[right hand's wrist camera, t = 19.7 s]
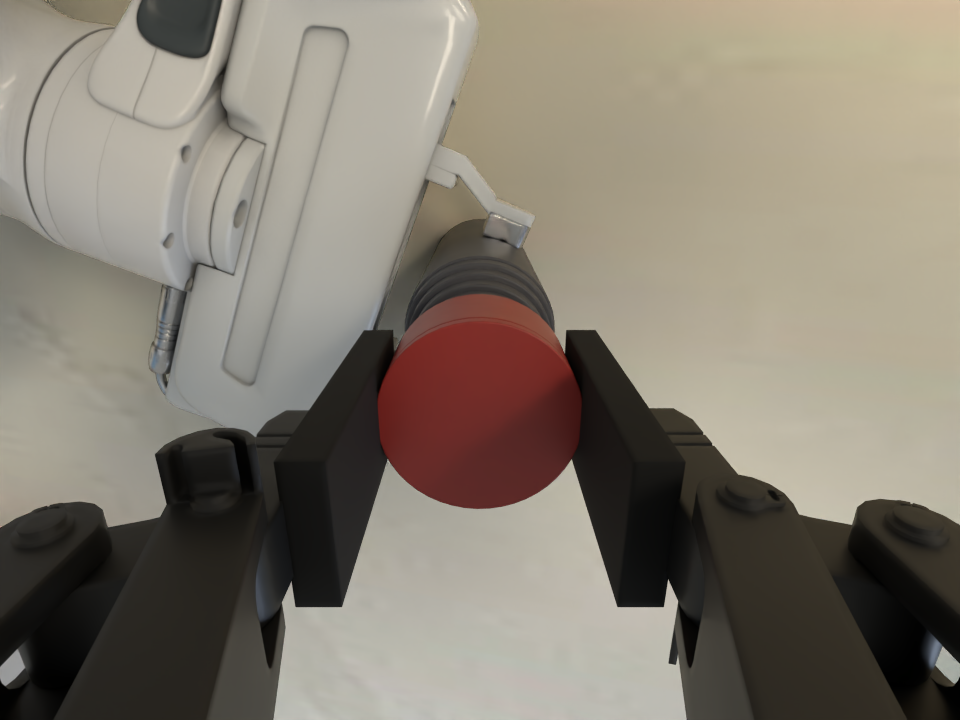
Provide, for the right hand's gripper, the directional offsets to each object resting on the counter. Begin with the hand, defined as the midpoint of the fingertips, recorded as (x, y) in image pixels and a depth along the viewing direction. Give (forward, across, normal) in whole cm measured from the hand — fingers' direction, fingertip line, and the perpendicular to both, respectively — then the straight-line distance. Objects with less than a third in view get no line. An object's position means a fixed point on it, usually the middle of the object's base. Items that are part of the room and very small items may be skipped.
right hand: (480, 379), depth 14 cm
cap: (-2, 0, 0) cm, 2 cm away
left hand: (+10, -1, 0) cm, 10 cm away
